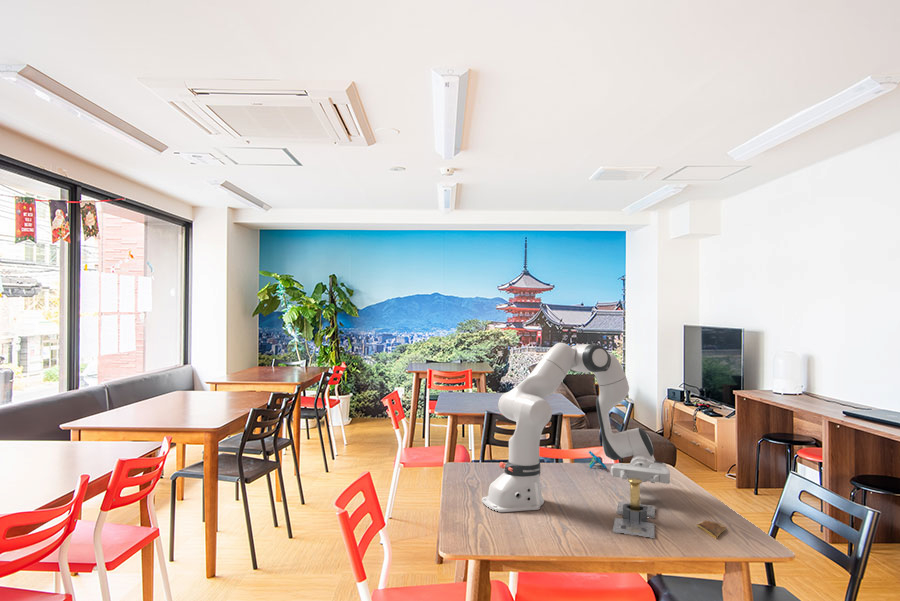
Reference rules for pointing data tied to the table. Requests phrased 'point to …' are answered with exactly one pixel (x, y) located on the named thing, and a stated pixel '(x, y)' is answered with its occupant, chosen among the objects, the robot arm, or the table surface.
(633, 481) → the hinge pin
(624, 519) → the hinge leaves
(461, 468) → the table surface
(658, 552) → the table surface
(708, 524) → the shard
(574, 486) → the table surface
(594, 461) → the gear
